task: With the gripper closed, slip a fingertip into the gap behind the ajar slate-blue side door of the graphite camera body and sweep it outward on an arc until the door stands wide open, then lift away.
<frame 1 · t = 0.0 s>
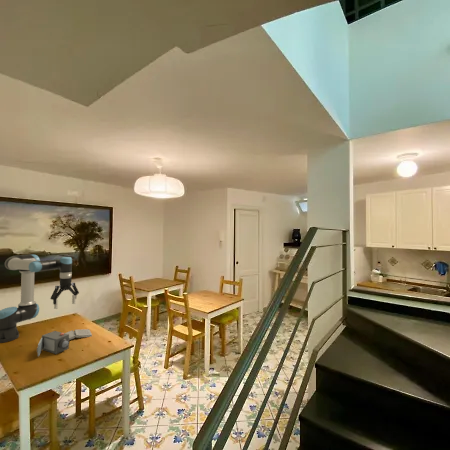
hand: (65, 306, 187), 28 cm above the table, fingers open, 13 cm apart
cam body: (55, 349, 177), on the table
door: (39, 346, 170), point 5 cm above the table, hinge at 38.0°
gadget: (74, 337, 199), on the table
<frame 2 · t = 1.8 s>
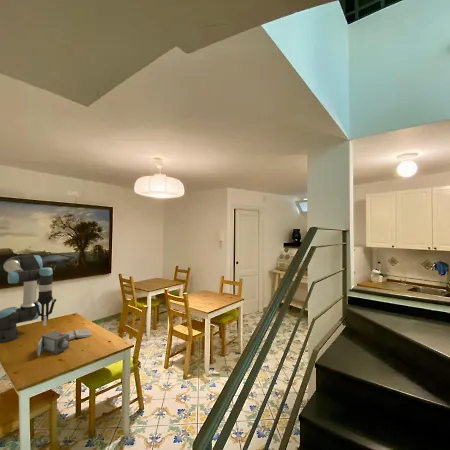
hand: (44, 325, 169), 20 cm above the table, fingers closed
nothing on the table moved.
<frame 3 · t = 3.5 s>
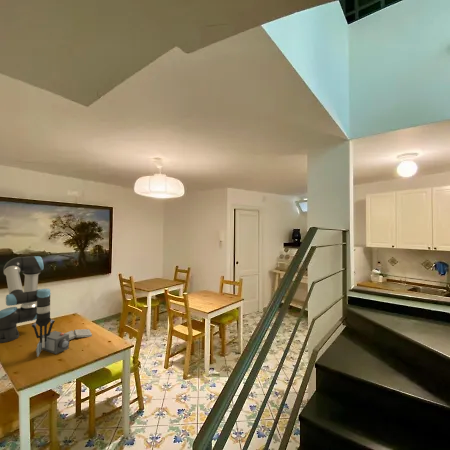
hand: (43, 347, 168), 5 cm above the table, fingers closed
door: (39, 346, 170), point 5 cm above the table, hinge at 39.8°, touching gripper
everything else where it was.
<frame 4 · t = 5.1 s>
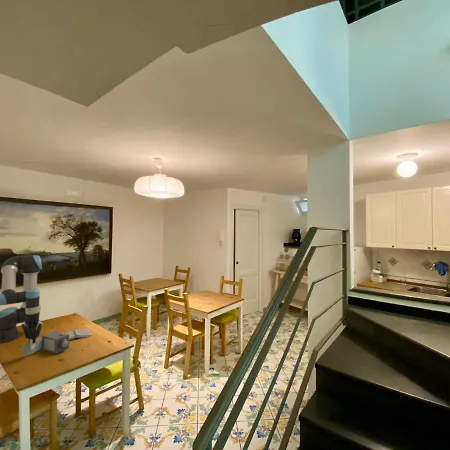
hand: (32, 348, 166), 6 cm above the table, fingers closed
door: (33, 346, 169), point 5 cm above the table, hinge at 80.5°, touching gripper
everything else where it was.
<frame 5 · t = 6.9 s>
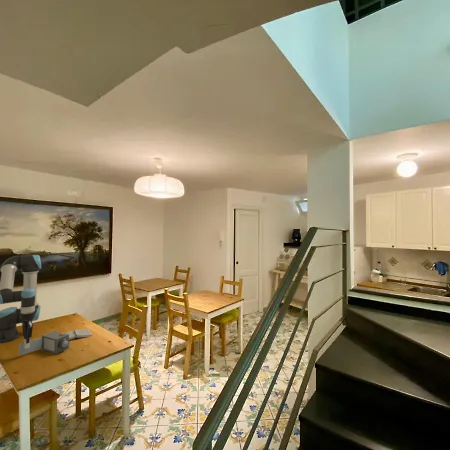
hand: (26, 347, 167), 6 cm above the table, fingers closed
door: (31, 345, 171), point 5 cm above the table, hinge at 105.0°, touching gripper
everything else where it was.
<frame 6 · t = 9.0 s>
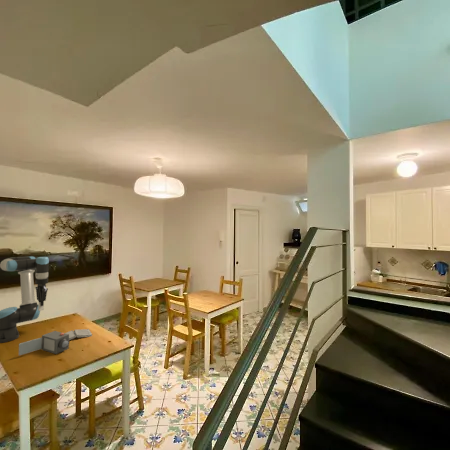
hand: (40, 310, 182), 26 cm above the table, fingers closed
door: (31, 345, 171), point 5 cm above the table, hinge at 104.3°
everything else where it was.
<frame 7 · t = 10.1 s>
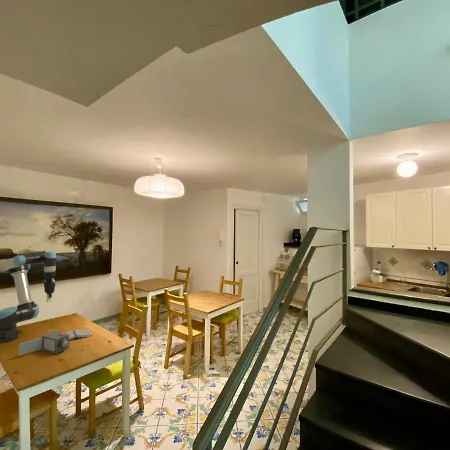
hand: (49, 301, 192), 29 cm above the table, fingers closed
nothing on the table moved.
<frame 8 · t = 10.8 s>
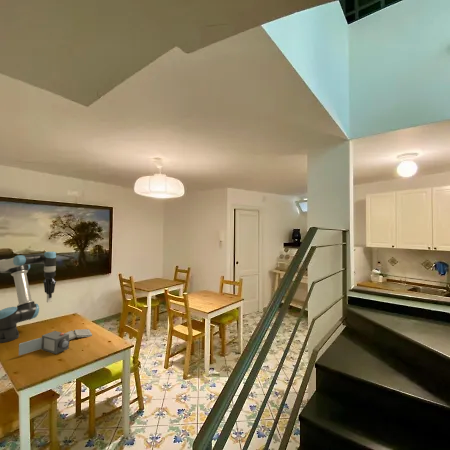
hand: (49, 301, 193), 29 cm above the table, fingers closed
nothing on the table moved.
at the end: door at +104° (first picture: +38°); gadget moved 0.9 cm from its start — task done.
